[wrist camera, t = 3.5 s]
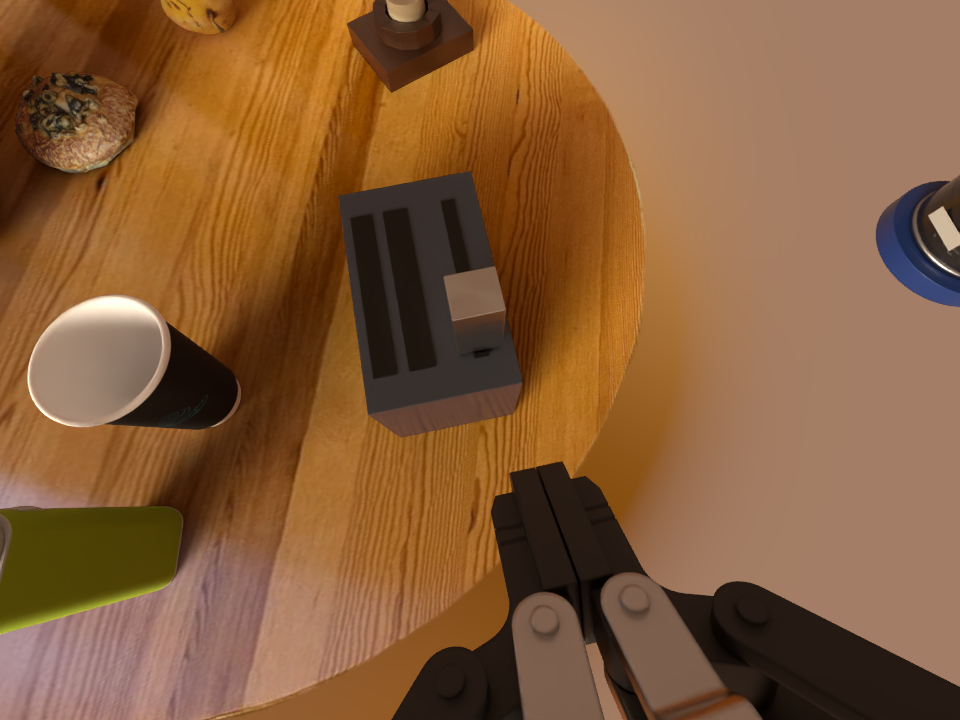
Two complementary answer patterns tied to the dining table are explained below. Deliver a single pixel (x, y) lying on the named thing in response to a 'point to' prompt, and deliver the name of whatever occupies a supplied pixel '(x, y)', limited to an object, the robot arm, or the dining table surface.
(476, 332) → the toaster slider
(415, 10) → the power button
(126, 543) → the vape
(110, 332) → the dixie cup
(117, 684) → the dining table surface
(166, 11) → the fruit
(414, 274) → the toaster
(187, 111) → the dining table surface
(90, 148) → the bread roll
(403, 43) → the block
